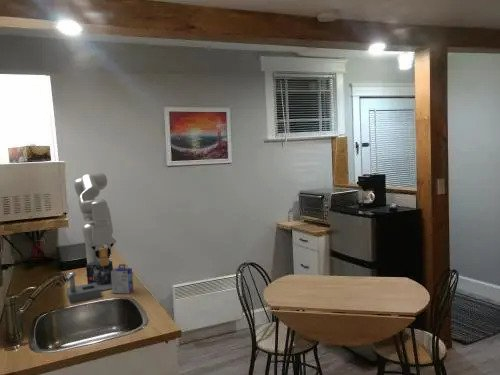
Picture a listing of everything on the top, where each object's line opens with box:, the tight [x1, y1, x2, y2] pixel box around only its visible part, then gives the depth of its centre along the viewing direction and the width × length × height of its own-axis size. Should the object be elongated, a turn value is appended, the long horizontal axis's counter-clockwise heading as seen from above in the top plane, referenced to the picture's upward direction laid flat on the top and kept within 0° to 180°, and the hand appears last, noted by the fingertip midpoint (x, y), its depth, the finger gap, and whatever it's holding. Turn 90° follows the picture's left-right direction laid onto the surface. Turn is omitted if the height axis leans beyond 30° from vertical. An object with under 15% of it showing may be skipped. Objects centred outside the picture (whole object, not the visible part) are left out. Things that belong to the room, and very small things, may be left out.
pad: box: [98, 283, 112, 292], centre depth 244 cm, size 9×9×1 cm
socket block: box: [66, 276, 102, 304], centre depth 232 cm, size 14×15×11 cm
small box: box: [85, 260, 114, 286], centre depth 253 cm, size 13×7×12 cm, turn 90°
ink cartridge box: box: [111, 263, 134, 294], centre depth 235 cm, size 10×6×14 cm, turn 78°
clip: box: [64, 271, 77, 284], centre depth 223 cm, size 15×4×2 cm, turn 10°
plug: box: [98, 247, 110, 266], centre depth 242 cm, size 5×5×9 cm
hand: (103, 256), depth 242 cm, fingers closed on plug, 5 cm apart
